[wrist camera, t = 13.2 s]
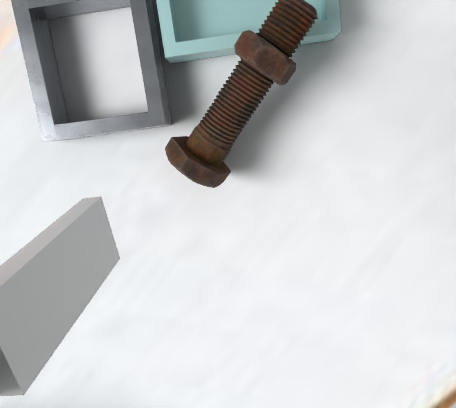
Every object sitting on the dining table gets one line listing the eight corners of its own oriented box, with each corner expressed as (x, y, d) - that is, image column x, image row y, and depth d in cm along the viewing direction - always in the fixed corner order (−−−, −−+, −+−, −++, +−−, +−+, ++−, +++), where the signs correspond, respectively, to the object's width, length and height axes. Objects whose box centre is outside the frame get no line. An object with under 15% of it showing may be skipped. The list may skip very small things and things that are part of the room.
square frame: (149, -13, 32) (141, -27, 29) (171, 125, 34) (165, 124, 31) (30, 6, 32) (9, -6, 29) (59, 140, 34) (43, 141, 31)
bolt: (265, -34, 24) (153, 153, 29) (328, 9, 24) (202, 193, 29) (282, -5, 30) (185, 149, 35) (334, 30, 29) (227, 182, 34)
